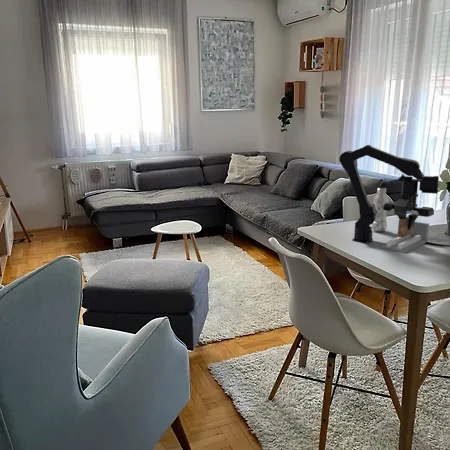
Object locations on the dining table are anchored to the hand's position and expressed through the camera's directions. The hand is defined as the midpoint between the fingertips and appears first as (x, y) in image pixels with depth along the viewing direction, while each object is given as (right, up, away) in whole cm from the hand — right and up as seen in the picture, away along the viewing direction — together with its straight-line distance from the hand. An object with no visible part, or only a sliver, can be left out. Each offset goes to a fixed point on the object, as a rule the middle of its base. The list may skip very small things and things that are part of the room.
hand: (406, 229), depth 181 cm
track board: (0, -6, +2) cm, 7 cm away
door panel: (0, -2, 0) cm, 2 cm away
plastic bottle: (-3, -1, +22) cm, 23 cm away
